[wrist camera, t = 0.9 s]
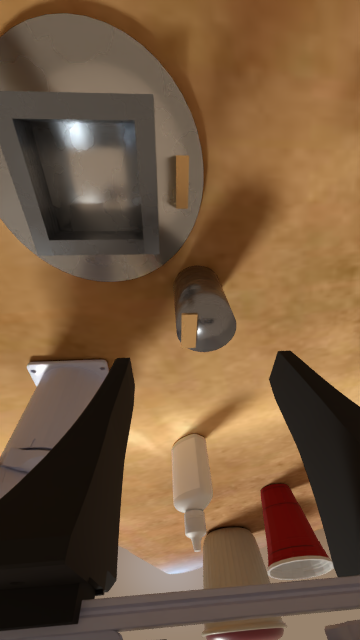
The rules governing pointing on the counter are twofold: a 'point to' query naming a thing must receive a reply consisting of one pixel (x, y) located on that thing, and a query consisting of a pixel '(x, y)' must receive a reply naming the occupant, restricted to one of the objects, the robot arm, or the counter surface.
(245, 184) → the counter surface
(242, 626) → the canister
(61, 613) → the robot arm
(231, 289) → the counter surface
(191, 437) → the eye dropper bottle
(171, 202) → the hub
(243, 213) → the counter surface
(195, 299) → the shaft
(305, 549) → the plastic cup
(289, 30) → the counter surface
